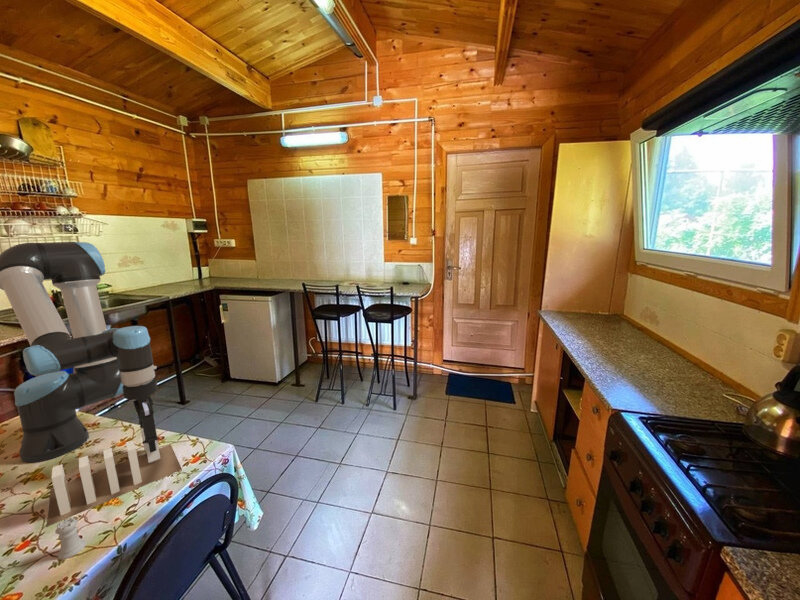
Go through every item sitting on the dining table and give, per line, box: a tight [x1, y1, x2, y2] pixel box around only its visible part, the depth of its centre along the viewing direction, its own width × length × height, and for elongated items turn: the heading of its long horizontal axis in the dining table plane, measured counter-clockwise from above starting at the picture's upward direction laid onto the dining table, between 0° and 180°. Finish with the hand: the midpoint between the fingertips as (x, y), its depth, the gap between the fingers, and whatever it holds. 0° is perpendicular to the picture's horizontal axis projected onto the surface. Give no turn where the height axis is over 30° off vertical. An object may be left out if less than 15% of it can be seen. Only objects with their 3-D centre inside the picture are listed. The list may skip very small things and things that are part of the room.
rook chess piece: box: [54, 517, 87, 560], centre depth 67 cm, size 4×4×8 cm
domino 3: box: [102, 447, 120, 494], centre depth 84 cm, size 2×5×10 cm, turn 44°
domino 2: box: [78, 455, 96, 505], centre depth 81 cm, size 2×5×10 cm, turn 44°
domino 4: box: [125, 439, 142, 485], centre depth 87 cm, size 2×5×10 cm, turn 44°
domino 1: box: [51, 463, 71, 515], centre depth 78 cm, size 2×5×10 cm, turn 44°
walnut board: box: [46, 443, 183, 528], centre depth 88 cm, size 26×16×2 cm, turn 134°
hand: (152, 453), depth 96 cm, fingers open, 7 cm apart
